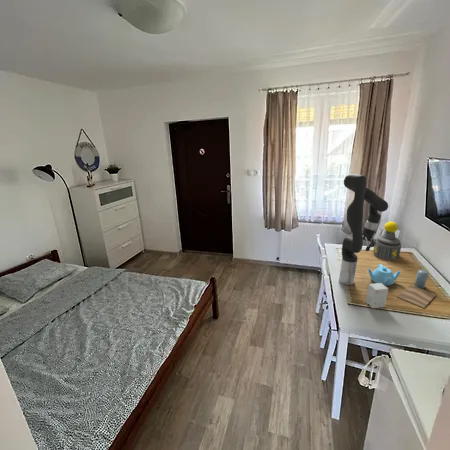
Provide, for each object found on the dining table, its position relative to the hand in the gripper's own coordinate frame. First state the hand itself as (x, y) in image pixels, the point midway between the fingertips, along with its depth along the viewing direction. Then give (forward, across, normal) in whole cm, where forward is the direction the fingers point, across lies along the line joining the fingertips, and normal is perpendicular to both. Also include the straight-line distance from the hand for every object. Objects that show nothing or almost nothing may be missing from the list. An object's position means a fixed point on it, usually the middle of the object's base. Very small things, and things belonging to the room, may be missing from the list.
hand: (362, 247), depth 178 cm
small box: (+18, +36, -14) cm, 43 cm away
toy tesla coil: (+17, -16, +43) cm, 49 cm away
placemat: (+14, +36, +16) cm, 42 cm away
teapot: (+18, +16, +10) cm, 26 cm away
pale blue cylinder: (+14, +28, +28) cm, 41 cm away
